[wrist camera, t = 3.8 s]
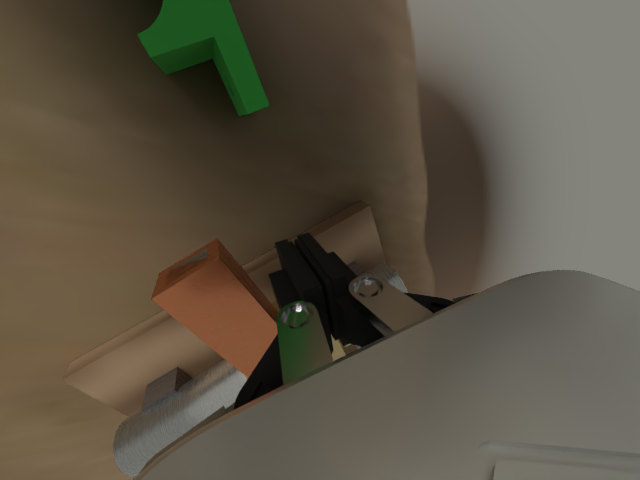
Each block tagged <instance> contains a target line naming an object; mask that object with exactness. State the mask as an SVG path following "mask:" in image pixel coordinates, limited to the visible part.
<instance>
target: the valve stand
mask: <svg viewBox="0 0 640 480" xmlns="http://www.w3.org/2000/svg"><path fill="white" fill-rule="evenodd" d="M308 232H309V233H310V234H311V235H312V236H313V237H314V239H315V240H316V241H317V242H318V243H319V244H320V245H321V246H322V248H323V249H324V250H325V251H326V252H327V253H330V252H335V253H336V254H337V255H338V256H339V257H340V259H341V260H342V261H343V262H344V263H345V264H346V265H348V264H350V263H351V262H353V261H355V262H356V263H357V264H358V265H359V266H360V267H361V268H362V269H364V270H365V271H366V272H368V271H370V270H371V269H373V268H375V267H376V266H378V265H380V264H381V263H386V264H387V262H386V259H385V255H384V252H383V249H382V245H381V242H380V238H379V235H378V231H377V228H376V224H375V221H374V218H373V214H372V211H371V207H370V205H368V204H366V203H364V202H362V201H358V202H357V203H355V204H353V205H351V206H349V207H348V208H346V209H344V210H342V211H340V212H339V213H337V214H335V215H333V216H332V217H330V218H328V219H326V220H324V221H323V222H321V223H319V224H317V225H315V226H314V227H312V228H310V229H308V230H306V231H305V232H303V233H301V234H304V233H308ZM301 234H299V235H301ZM297 236H298V235H297ZM297 236H296V237H294V238H292V239H290V240H289V241H292V242H293V243H294V245H295V242H294V240H295V239H298V238H297ZM289 241H288V242H289ZM242 268H243V270H244V271H245V272H246V273H247V275H248V276H249V277H250V278H251V279H252V281H253V282H254V283H255V284H256V285H257V287H258V288H259V289H260V290H261V291H262V293H263V294H264V295H265V296H266V297H267V299H268V300H269V301H270V302H271V303H273V302H275V301H276V297H275V295H274V291H273V288H272V285H271V282H270V279H269V275H268V274H270V273H272V272H275V271H278V270H281V269H282V268H281V264H280V261H279V257H278V253H277V250H276V248H274V249H272V250H271V251H269V252H267V253H265V254H263V255H262V256H260V257H258V258H256V259H254V260H253V261H251V262H249V263H247V264H246V265H244V266H242ZM223 360H224V358H223V357H222V356H220V355H219V354H218V353H217V352H215V351H214V350H213V349H212V348H211V347H209V346H208V345H207V344H206V343H204V342H203V341H202V340H201V339H199V338H198V337H197V336H196V335H195V334H193V333H192V332H191V331H190V330H188V329H187V328H186V327H185V326H183V325H182V324H181V323H180V322H179V321H177V320H176V319H175V318H174V317H172V316H171V315H170V314H169V313H167V312H166V311H165V310H163V311H161V312H159V313H158V314H156V315H154V316H152V317H151V318H149V319H147V320H145V321H143V322H142V323H140V324H138V325H136V326H134V327H133V328H131V329H129V330H127V331H125V332H124V333H122V334H120V335H118V336H116V337H115V338H113V339H111V340H109V341H108V342H106V343H104V344H102V345H100V346H99V347H97V348H95V349H93V350H91V351H90V352H88V353H86V354H84V355H82V356H81V357H79V358H77V359H75V360H73V361H72V362H71V364H70V365H69V367H68V369H67V371H66V372H65V374H64V376H63V378H62V379H61V381H63V382H65V383H67V384H69V385H71V386H73V387H75V388H76V389H78V390H80V391H82V392H84V393H86V394H88V395H89V396H91V397H93V398H95V399H97V400H99V401H101V402H103V403H104V404H106V405H108V406H110V407H112V408H114V409H116V410H117V411H119V412H121V413H123V414H125V415H127V416H129V417H131V416H133V415H134V414H136V413H138V412H139V411H141V408H142V404H143V400H144V396H145V391H146V387H147V384H149V383H151V382H152V381H154V380H156V379H157V378H159V377H161V376H162V375H164V374H166V373H167V372H169V371H171V370H172V369H174V368H176V367H177V366H178V367H179V368H180V369H182V370H183V371H184V372H185V373H187V374H188V375H189V376H190V377H192V378H195V377H196V376H198V375H200V374H201V373H203V372H205V371H206V370H208V369H209V368H211V367H213V366H214V365H216V364H218V363H219V362H221V361H223Z"/></svg>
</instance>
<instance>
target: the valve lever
mask: <svg viewBox="0 0 640 480" xmlns="http://www.w3.org/2000/svg"><path fill="white" fill-rule="evenodd" d="M151 300H153V301H154V302H155V303H156V304H158V305H159V306H160V307H161V308H163V309H164V310H165V311H166V312H167V313H169V314H170V315H171V316H172V317H174V318H175V319H176V320H177V321H179V322H180V323H181V324H182V325H183V326H185V327H186V328H187V329H188V330H190V331H191V332H192V333H193V334H195V335H196V336H197V337H198V338H199V339H201V340H202V341H203V342H204V343H206V344H207V345H208V346H209V347H211V348H212V349H213V350H214V351H215V352H217V353H218V354H219V355H220V356H222V357H223V358H224V359H225V360H227V361H228V362H229V363H230V364H231V365H233V366H234V367H235V368H236V369H238V370H239V371H240V372H241V373H243V374H244V375H245V376H246V377H247V378H249V376H250V375H251V373H252V372H253V370H254V369H255V367H256V366H257V364H258V363H259V361H260V360H261V358H262V357H263V355H264V353H265V352H266V350H267V349H268V347H269V346H270V344H271V343H272V341H273V340H274V338H275V337H276V335H277V334H278V331H277V322H276V320H277V315H278V313H279V312H278V311H277V310H276V308H275V307H274V306H273V305H272V303H271V302H270V301H269V300H268V299H267V297H266V296H265V295H264V294H263V293H262V291H261V290H260V289H259V288H258V287H257V285H256V284H255V283H254V282H253V281H252V279H251V278H250V277H249V276H248V275H247V273H246V272H245V271H244V270H243V268H242V267H241V266H240V265H239V264H238V262H237V261H236V260H235V259H234V258H233V256H232V255H231V254H230V253H229V252H228V250H227V249H226V248H225V247H224V246H223V244H222V243H221V242H220V241H219V239H218V238H217V239H215V240H214V241H212V242H210V243H209V244H207V245H205V246H204V247H202V248H200V249H199V250H197V251H195V252H194V253H192V254H190V255H189V256H187V257H185V258H184V259H182V260H180V261H179V262H177V263H175V264H174V265H172V266H171V267H169V268H167V269H166V270H164V271H162V272H161V273H159V276H158V279H157V282H156V286H155V289H154V292H153V295H152V298H151Z"/></svg>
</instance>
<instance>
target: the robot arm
mask: <svg viewBox="0 0 640 480" xmlns="http://www.w3.org/2000/svg"><path fill="white" fill-rule="evenodd" d="M297 238H298V239H295V240H294V242H295V245H294V243H293V242H292V241H289V242H288V241H287V239H286V240H282V241H279V242H276V243H275V246H276V250H277V253H278V257H279V261H280V264H281V268H282V269H281V270H278V271H275V272H272V273H270V274H268V275H269V279H270V282H271V285H272V288H273V291H274V295H275V297H276V300H277V303H278V306H279V309H280V311H279V313H278V315H277V320H276V322H277V331H278V334H277V335H276V337H275V338H274V340H273V341H272V343H271V344H270V346H269V347H268V349H267V350H266V352H265V353H264V355H263V357H262V358H261V360H260V361H259V363H258V364H257V366H256V367H255V369H254V370H253V372H252V373H251V375H250V376H249V378H248V379H247V381H246V382H245V384H244V385H243V387H242V388H241V390H240V392H239V394H238V396H237V398H236V400H235V402H234V403H233V404H232V405H230V406H229V407H227V408H225V407H224V406H223V407H221V408H220V409H218V410H217V411H216V412H214V413H213V414H211V415H210V416H208V417H207V418H206V419H204V420H203V421H201V422H200V423H199V424H197V425H196V426H194V427H193V428H192V429H190V430H189V431H187V432H186V433H184V434H183V435H182V436H180V437H179V438H177V439H176V440H175V441H173V442H172V443H170V444H169V445H168V446H166V447H165V448H163V449H162V450H160V451H159V452H158V453H157V454H155V455H154V456H153V457H152V458H151V459H150V460H149V461H148V462H147V463H146V464H145V466H144V467H143V468H142V470H141V471H140V473H139V474H138V475H137V476H136V477H135V478H134V479H133V480H640V291H637V290H635V289H632V288H630V287H627V286H624V285H621V284H618V283H616V282H613V281H611V280H608V279H605V278H602V277H599V276H596V275H592V274H589V273H586V272H581V271H575V270H553V271H542V272H536V273H531V274H526V275H523V276H520V277H516V278H513V279H510V280H508V281H505V282H503V283H500V284H498V285H495V286H493V287H490V288H488V289H486V290H484V291H481V292H479V293H475V294H471V295H466V296H461V297H457V298H453V301H450V300H447V299H443V298H438V297H431V296H424V295H417V294H411V293H404V292H401V291H400V290H398V289H397V288H395V287H394V286H392V285H391V284H389V283H388V282H386V281H385V280H384V279H382V278H380V277H378V276H374V275H363V276H359V277H358V276H357V275H356V274H355V273H354V272H353V271H352V270H351V269H350V268H349V267H348V266H347V265H346V264H345V263H344V262H343V261H342V260H341V259H340V257H339V256H338V255H337V254H336V253H335V252H330V253H327V252H326V251H325V250H324V249H323V248H322V246H321V245H320V244H319V243H318V242H317V241H316V240H315V239H314V237H313V236H312V235H311V234H310V233H309V232H308V233H304V234H301V235H298V236H297ZM331 335H332V337H333V338H334V340H335V341H336V340H338V339H339V340H340V342H341V343H342V345H343V346H345V345H347V344H353V345H356V349H357V350H355V351H353V352H351V353H349V354H347V355H345V356H343V357H341V358H339V359H337V360H335V361H333V358H332V353H333V350H334V349H333V344H332V337H331Z"/></svg>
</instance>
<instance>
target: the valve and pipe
mask: <svg viewBox="0 0 640 480" xmlns="http://www.w3.org/2000/svg"><path fill="white" fill-rule="evenodd" d="M347 266H348V267H349V268H350V269H351V270H352V271H353V272H354V273H355V274H356V275H357V276H358V277H359V276H363V275H374V276H378V277H380V278H382V279H384V280H385V281H386V282H388V283H389V284H391V285H392V286H394V287H395V288H397V289H398V290H400V291H401V292H404V293H408V290H407V288H406V286H405V284H404V282H403V281H402V279H401V278H400V276H399V275H398V274H397V273H396V271H395V270H394V269H393V268H392V267H390V266H389V265H388V264H386V263H381V264H380V265H378V266H376V267H375V268H373V269H371V270H370V271H368V272H366V271H365V270H364V269H362V268H361V267H360V266H359V265H358V264H357V263H356V262H355V261H353V262H351V263H350V264H348V265H347ZM272 305H273V306H274V307H275V308H276V310H277V311H278V312H279V311H280V309H279V306H278V303H277V300H276V301H275V302H273V303H272ZM331 337H332V335H331ZM332 344H333V349H334V350H333V353H332V358H333V361H335V360H337V359H339V358H341V357H343V356H345V355H346V354H345V352H344V351H343V350H344V349H345V348H347V347H348V346H350V345H351V344H347V345H345V346H343V345H342V343H341V342H340V340H339V339H338V340H336V341H335V340H334V338H333V337H332ZM247 379H248V378H247V377H246V376H245V375H244V374H243V373H241V372H240V371H239V370H238V369H236V368H235V367H234V366H233V365H231V364H230V363H229V362H228V361H227V360H225V359H224V360H223V361H221V362H219V363H218V364H216V365H214V366H213V367H211V368H209V369H208V370H206V371H205V372H203V373H201V374H200V375H198V376H196V377H195V378H192V377H190V376H189V375H188V374H187V373H185V372H184V371H183V370H182V369H180V368H179V367H178V366H177V367H176V368H174V369H172V370H171V371H169V372H167V373H166V374H164V375H162V376H161V377H159V378H157V379H156V380H154V381H152V382H151V383H149V384H147V387H146V391H145V396H144V400H143V404H142V408H141V411H139V412H138V413H136V414H134V415H133V416H131V417H129V418H128V419H126V420H125V421H123V422H122V423H121V425H120V426H119V427H118V429H117V431H116V434H115V437H114V443H113V453H114V458H115V461H116V464H117V466H118V468H119V469H120V470H121V471H122V472H123V473H124V474H125V475H127V476H130V477H136V476H137V475H138V474H139V473H140V471H141V470H142V468H143V467H144V466H145V464H146V463H147V462H148V461H149V460H150V459H151V458H152V457H153V456H154V455H155V454H157V453H158V452H159V451H160V450H162V449H163V448H165V447H166V446H168V445H169V444H170V443H172V442H173V441H175V440H176V439H177V438H179V437H180V436H182V435H183V434H184V433H186V432H187V431H189V430H190V429H192V428H193V427H194V426H196V425H197V424H199V423H200V422H201V421H203V420H204V419H206V418H207V417H208V416H210V415H211V414H213V413H214V412H216V411H217V410H218V409H220V408H221V407H223V406H224V407H225V408H227V407H229V406H230V405H232V404H233V403H234V402H235V400H236V398H237V396H238V394H239V392H240V390H241V388H242V387H243V385H244V384H245V382H246V381H247Z"/></svg>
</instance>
